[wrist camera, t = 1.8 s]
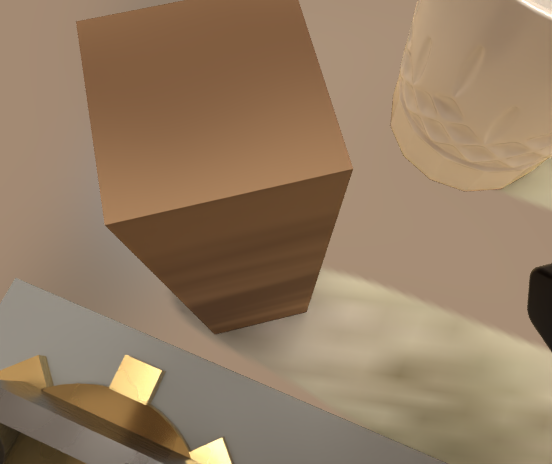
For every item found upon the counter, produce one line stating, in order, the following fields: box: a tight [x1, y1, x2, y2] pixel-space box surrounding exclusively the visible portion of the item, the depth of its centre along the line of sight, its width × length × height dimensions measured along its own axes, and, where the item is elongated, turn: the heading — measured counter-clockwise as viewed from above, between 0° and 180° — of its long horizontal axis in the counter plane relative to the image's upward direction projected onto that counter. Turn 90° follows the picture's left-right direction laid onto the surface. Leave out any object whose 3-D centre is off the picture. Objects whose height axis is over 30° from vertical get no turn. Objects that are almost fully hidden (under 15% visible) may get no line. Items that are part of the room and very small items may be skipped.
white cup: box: [391, 0, 552, 191], centre depth 17 cm, size 8×8×10 cm
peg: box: [76, 0, 353, 334], centre depth 13 cm, size 4×4×12 cm
